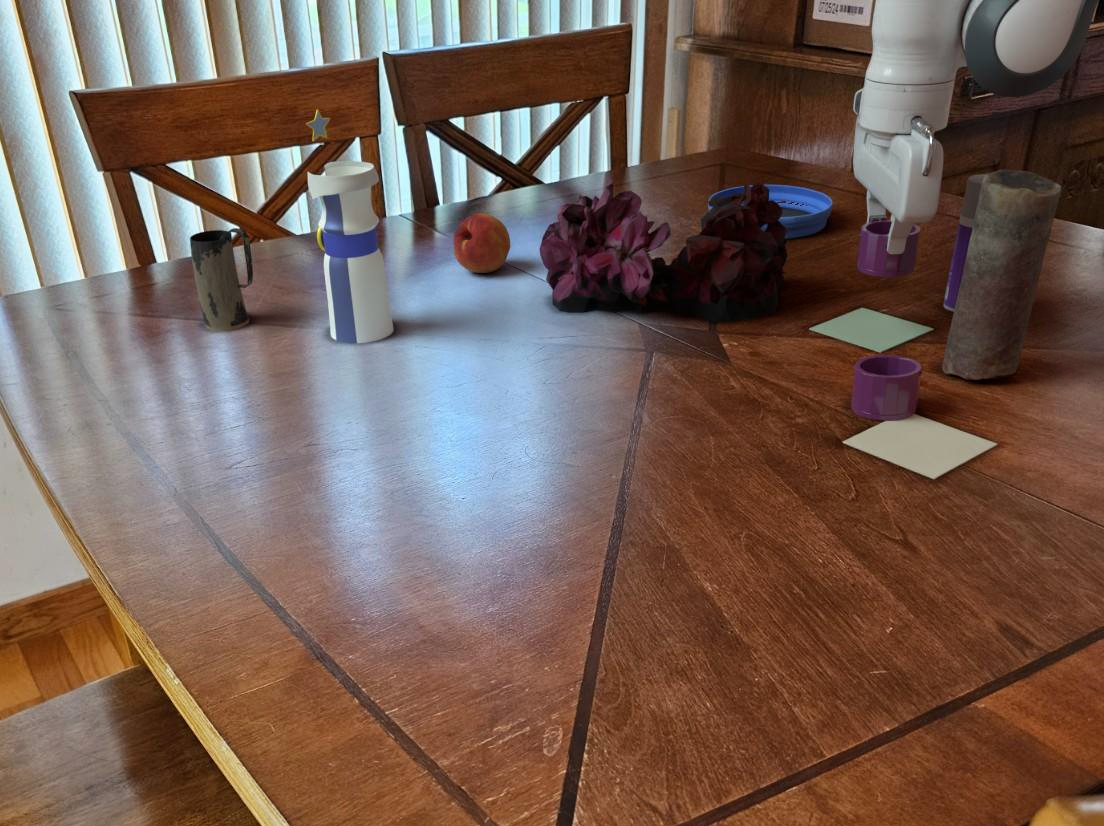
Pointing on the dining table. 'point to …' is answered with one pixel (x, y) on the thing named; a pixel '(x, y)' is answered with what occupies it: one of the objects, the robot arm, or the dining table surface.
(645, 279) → the flower arrangement
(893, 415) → the dish
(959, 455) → the pad near
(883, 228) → the dish
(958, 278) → the container
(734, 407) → the dining table surface
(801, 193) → the bowl
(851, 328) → the pad far
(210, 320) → the mug
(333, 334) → the water bottle
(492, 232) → the fruit
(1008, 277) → the grey stone cylinder
